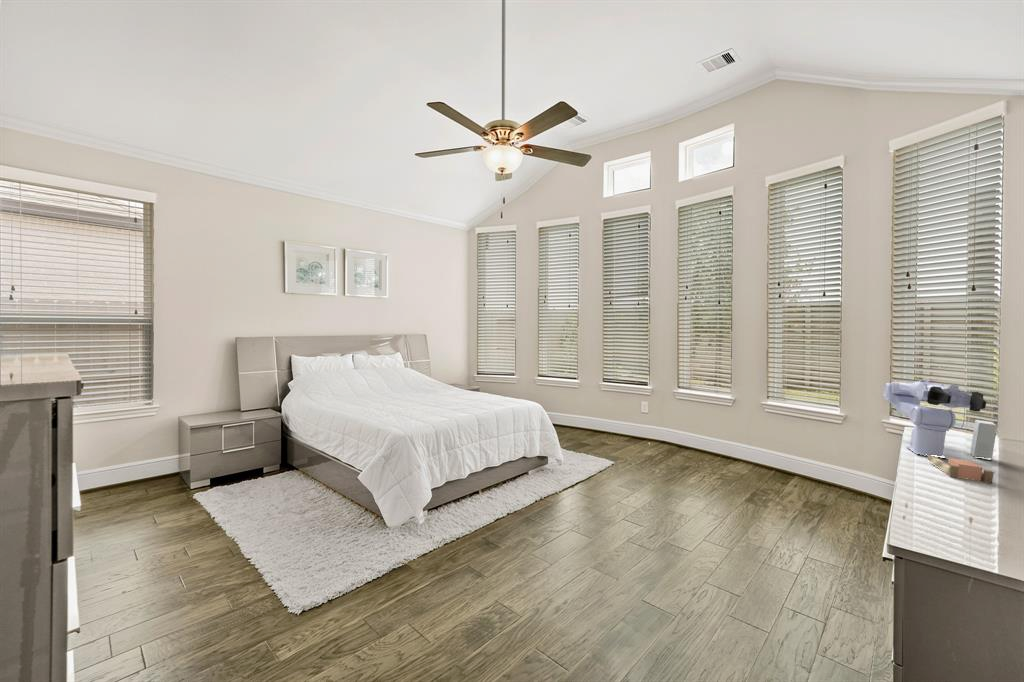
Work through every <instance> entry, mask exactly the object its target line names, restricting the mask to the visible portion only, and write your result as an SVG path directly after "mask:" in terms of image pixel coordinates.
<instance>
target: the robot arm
mask: <svg viewBox="0 0 1024 682" xmlns="http://www.w3.org/2000/svg"><path fill="white" fill-rule="evenodd" d="M882 389H883V390H882V394H883V399H884V401H887V403H888V402H889V403H890V404H892V406H893V408H895V410H896V411H897V412H898V413H899V414H902V415H903V416H907V417H908V419H909V420H910V421H911V422H912V424H913V425H914V427H913V429H912V430H911V436H910V442H909V443H910V444H909V445H906V449H908V450H909V449H910V451H911V452H912V451H913V452H912V453H914V454H915V453H916V454H915V455H917V454H920V455H919V456H922V455H926V454H927V455H937V456H942V455H944V449H945V442H946V434H947V432H949V431H950V430H951V429H952V428H954V427H955V425H956V422H957V421H956V420H957V419H956V418H957V417H956V414H955V412H954V411H953V410H952V409H956V408H965V407H969V411H970V412H977V413H978V412H980V411H981V410H982V409H983V410H984V409H986V405H987V400H986V399H984V394H983V393H981V392H976V391H972V392H971V394H970V393H968V392H965V391H962V390H960V387H959V385H956V384H949V385H948V386H946V385H945V384H943V383H934V382H933V383H932V381H927V380H923V379H919V380H918V381H915V382H913V383H911V382H900V381H898V382H895V381H894V382H893V381H891V382H886V383H885V384H884V386H883V388H882ZM921 400H925V401H926V402H927V403H928V404H929V405H932V406H933V405H935V406H939V405H941V406H943V407H946V408H949V409H944V408H943V409H942V408H933V407H927V406H923V405H921ZM950 408H951V409H950Z"/></svg>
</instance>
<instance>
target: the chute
mask: <svg viewBox="0 0 1024 682" xmlns="http://www.w3.org/2000/svg"><path fill="white" fill-rule="evenodd" d="M927 460H929V461H930V462H932V463H933V464H935V465H936V466H938V467H939V468H940V469H941V470H943V471H944V472H945V473H946V474H945V473H944V472H943V473H944V474H945V475H946V476H948V475H949V476H948V477H949V478H954V477H955V478H956V479H957V478H958V477H957V475H958V468H959V467H958V466H956V465H950V466H949V465H948V463H946V462H945V461H943V460H941V458H937V457H935V456H931V455H928V456H927V459H926V461H927ZM941 470H940V471H941ZM994 474H995V472H994V471H992V470H987V469H982V476H981V481H982V480H983V481H984V482H983V481H982V482H983V483H985V482H987V483H986V484H993V481H994V480H993V478H994Z"/></svg>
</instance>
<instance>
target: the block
mask: <svg viewBox="0 0 1024 682" xmlns="http://www.w3.org/2000/svg"><path fill="white" fill-rule="evenodd" d="M948 458H949V459H948V463H947V464H948V465H949V466H950V465H956V466H958V467H959V468H958V475H957V478H959V477H960V479H965V478H968V479H967V480H971V479H974V480H973V481H977V480H981V476H982V470H984V469H983V466H981V465H979V464H977V463H976V462H973V461H971V460H964V459H960V458H959V459H958V458H951V457H948ZM981 481H982V480H981Z"/></svg>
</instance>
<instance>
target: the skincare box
mask: <svg viewBox="0 0 1024 682" xmlns="http://www.w3.org/2000/svg"><path fill="white" fill-rule="evenodd" d="M997 428H998V424H995V423H994V422H993V421H987V420H980V419H975V421H974V425H973V432H972V433H973V434H972V440H971V446H970V452H971V454H972V455H973V456H974V457H984V458H992V459H993V454H994V448H995V441H996V435H997V430H998V429H997ZM971 454H970V455H971ZM972 455H971V456H972ZM973 456H972V457H973ZM974 457H973V458H974Z"/></svg>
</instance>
